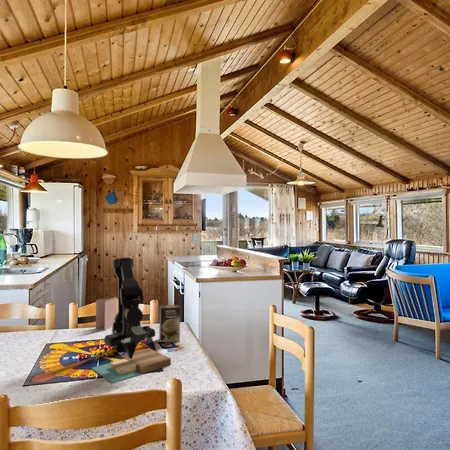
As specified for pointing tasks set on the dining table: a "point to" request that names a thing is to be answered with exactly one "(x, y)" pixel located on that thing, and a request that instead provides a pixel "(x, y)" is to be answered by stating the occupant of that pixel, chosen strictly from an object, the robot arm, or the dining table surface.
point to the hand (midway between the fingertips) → (130, 358)
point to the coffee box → (169, 323)
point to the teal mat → (113, 373)
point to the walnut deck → (148, 360)
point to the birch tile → (123, 366)
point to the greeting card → (106, 312)
